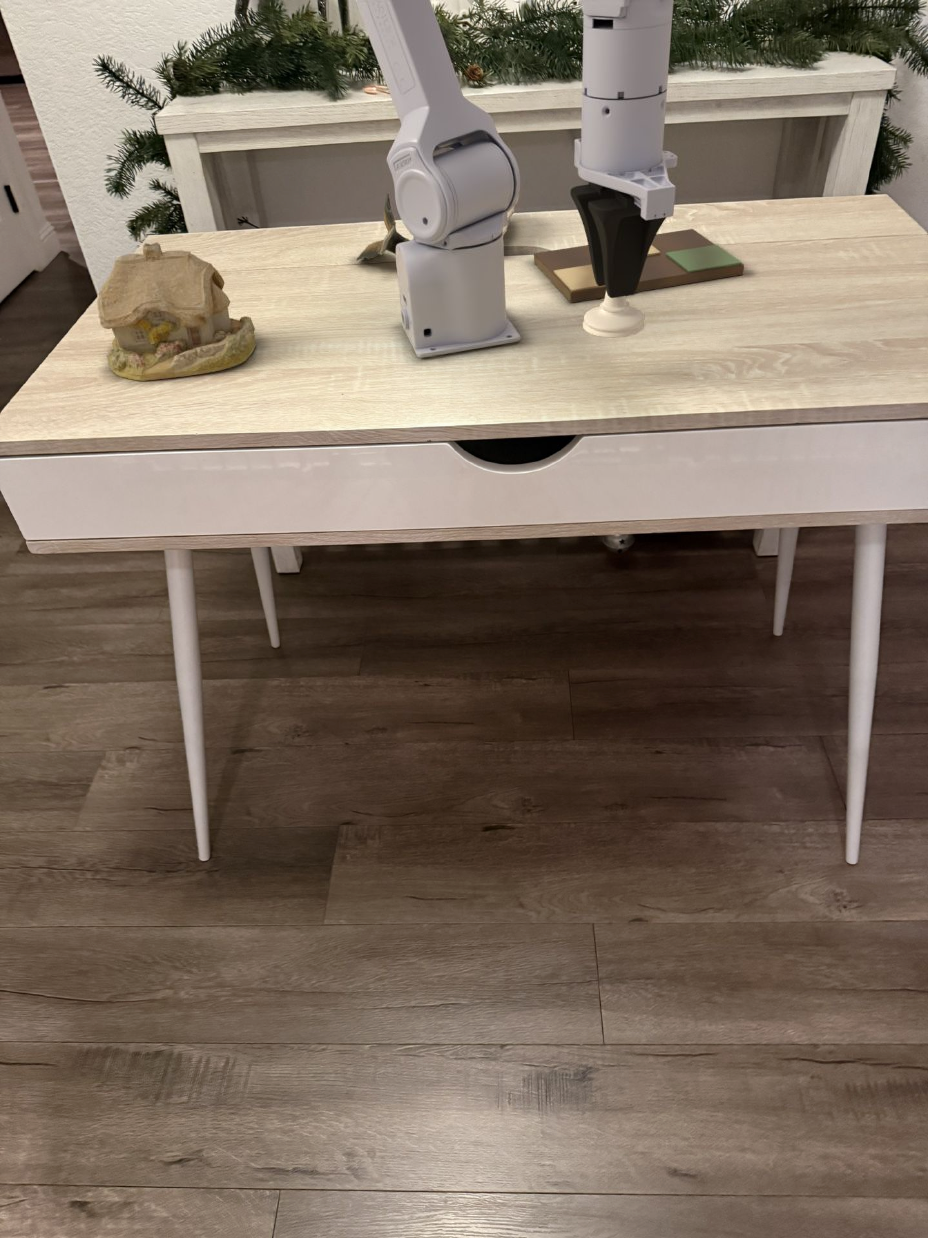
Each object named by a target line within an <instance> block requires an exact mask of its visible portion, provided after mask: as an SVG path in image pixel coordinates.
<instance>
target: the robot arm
mask: <svg viewBox="0 0 928 1238" xmlns="http://www.w3.org/2000/svg"><path fill="white" fill-rule="evenodd" d="M354 1H355V3H356V7H357V10H358V12H359V15H360V18H361V21H362V23H363V25H364V28H365V31H366V33H367V36H368V39H369V42H370V44H371V47H372V49H373V52H374V55H375V58H376V60H377V63H378V65H379V68H380V71H381V73H382V76H383V79H384V81H385V84H386V87H387V90H388V92H389V96H390V97H391V100H392V104H393V106H394V108H395V111H396V114H397V117H398V119H399V121H400V124H401V125H400V128H399V130H398V132H397V134H396V136H395V138H394V141H393V143H392V144H391V145H392V146H391V147H390V149H389V151H388V154H387V157H386V163H387V165H388V168H389V171H390V173H391V176H392V181H393V186H394V187H393V188H394V198H395V199H394V200H395V205H396V209H397V212H398V215H399V217H400V220H401V222H402V224H403V226H404V227H405V229H406V230H407V231H408V232H409V233H410V235H411V236H412V237H413V238H412V239H409V240H410V241H407V242H402V243H399V244H397V245H396V255H395V265H396V275H397V284H398V291H399V292H398V293H399V300H400V315H401V325H402V326H401V327H402V328H403V330H404V333H405V335H406V336H407V338H408V340H409V343H410V345H411V347H412V349H413V351H414V352H415V354H416V357H417V358H430V357H434V356H441V355H446V354H452V353H459V352H464V351H465V352H466V351H470V350H475V349H481V348H489V347H494V346H495V347H496V346H500V345H506V344H511V343H517V342H518V343H519V341H521V335H520V333H519V332H518V330H517V329H516V327H514V325H513V324H512V322H511V321H510V320H509V318H508V317H507V303H506V302H507V301H506V300H507V299H506V277H505V250H504V236H503V228H504V227H505V226H507V225H508V218H507V212H509V211H510V210H511V209H512V208H513V206H514V205H515V203H516V201H517V199H518V196H519V197H520V193H521V192H520V190H521V174H520V169H519V164H518V162H517V160H516V157H515V156H514V154H513V152H512V151H511V149H510V148H509V147H508V146H507V145H506V143H505V142H504V140H503V139H502V137H501V136H500V134H499V131H498V130H497V127H496V124H495V121H494V119H493V116H491V114H490V113H488V112H486V111H485V110H483V108H480V107H479V106H478V105H476V104H474V103H473V102H472V101H470V100H469V99H468V98H466V97H465V96H464V93H463V91H462V89H461V85H460V83H459V79H458V77H457V74H456V70H455V68H454V66H453V62H452V59H451V56H450V54H449V51H448V48H447V44H446V42H445V39H444V36H443V33H442V30H441V27H440V25H439V21H438V19H437V16H436V13H435V11H434V7H433V4H432V2H431V0H354ZM578 5H579V6H581V7H582V15H583V17H582V20H583V21H582V24H583V28H582V29H583V30H582V32H583V33H582V78H581V79H582V88H581V122H580V123H581V125H580V126H581V127H580V128H581V129H580V138H576V139H574V157H573V159H574V160H573V161H574V163H573V165H574V168H576V169H577V175H578V177H579V178H580V179H582V180H583V181H585V182H588V184H582V185H576V186H573V187H572V188H570V193H569V194H570V197H571V199H572V201H573V204H574V205H575V207H576V209H577V212H578V214H579V216H580V219H581V222H582V223H581V224H582V226H583V228H584V233H585V236H586V242H587V245H588V246H589V252H590V257H591V263H592V269H593V273H594V278H595V281H596V284H597V285H598V286H604V285H605V287H606V291H607V295H608V296H609V297H610V298H616V297H623V296H625V297H628V296H634V295H636V293H637V292H636V290H637V287H638V284H639V281H640V278H641V274H642V271H643V268H644V264H645V261H646V258H647V255H648V252H649V249H650V247H651V245H652V242H653V240H654V238H655V236H656V234H658V233H659V230H660V229H661V227H662V225H663V224H664V222H665V220H666V219H667V218H671V217H672V218H673V216H674V215H675V213H674V212H675V199H676V188H677V187H676V185H674V184H673V183H672V182H671V180H670V179H669V178H670V177H669V173H668V169H671V168H672V169H673V168H676V167H677V166H678V156H677V155H676V154H674V153H673V152H672V151H669V150H664V139H665V138H664V136H665V123H666V108H667V94H668V80H669V66H670V52H671V39H672V26H673V25H672V24H673V15H674V14H673V12H674V11H673V10H674V0H578ZM443 149H450V150H446V151H444V152H441V153H439V154H436V155H434V153H435V152H438V151H441V150H443ZM517 202H518V201H517Z"/></svg>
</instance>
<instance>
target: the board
mask: <svg viewBox="0 0 928 1238" xmlns="http://www.w3.org/2000/svg"><path fill="white" fill-rule="evenodd" d="M533 263H534V264H535V266H537V268H538V269H539V270H540V271H541V272H542V273H543V274H544V276H546V277H547V279H548V280H549V281H550V282H551V283H552V284H553V285H554V286H555V287H556V289H557V290H558V291H559V292H560V293H561V294H562V295H563V296H564V297H565V298H566V299H567V300H568V302H569V303H578V302H579V303H580V302H585V301H591V300H597V299H602V298H605V294H606V287H605V285H604V286H598V285H597V284H596V281H595V278H594V273H593V269H592V263H591V257H590V252H589V246H588V244H586V245H585V244H584V245H579V246H573V247H565V248H560V249H553V250H547V251H540V252H535V253H533ZM744 270H745V264H744V263H743V262H742V261H741V260H739V259H738V258H736V257H735V256H734V255H732V254H731V253H730V252H728V251H727V250H725V249H724V248H722V247H721V246H719V245H718V244H715V243H714V242H712V241H711V240H709V239H708V238H707V237H705V236H704V235H702V234H701V233H699V232H698V231H697V230H695V229H693V228H688V229H682V230H675V231H670V232H662V233H657V234H656V236H655V238H654V240H653V242H652V245H651V247H650V249H649V252H648V255H647V258H646V261H645V264H644V268H643V271H642V274H641V278H640V281H639V284H638V287H637V290H636V293H638V292H646V291H651V290H657V289H663V288H669V287H675V286H683V285H688V284H693V283H700V282H706V281H713V280H718V279H724V278H730V277H731V278H732V277H736V276H742V275H744Z"/></svg>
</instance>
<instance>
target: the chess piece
mask: <svg viewBox="0 0 928 1238" xmlns="http://www.w3.org/2000/svg"><path fill="white" fill-rule="evenodd" d="M645 319H646V316H645V313H644V312H643V311H642V310H641V309H639V308H638V307H635V306H632V305H631V303H630V302H629V301H627V297H626V296H623V297H616V298H610V297H609V296H608V295H607V291H606V294H605V297H604V300H603V301H602V302H600V304H599V305H598V306H595V307H593V308H591V309H590V310H587V312H585V314H584V316H583V322H582V328H583V330H584V331H585V332H587V333H588V334H590V335H593V336H596V337H600V338H608V339H615V338H616V339H618V338H627V337H631V336H634V335H637V334H639V333H640V332H641V331H643V330H644V329H645V328H646V321H645Z"/></svg>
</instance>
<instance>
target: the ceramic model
mask: <svg viewBox="0 0 928 1238" xmlns="http://www.w3.org/2000/svg"><path fill="white" fill-rule="evenodd" d="M224 286H225V280H224V279H223V276H222V275H221V274H220V272H219V270H218V269H216V267H214V266H213V264H212V263H211V262H208V261H206V260H203V259H201V258H199V257H198V256H196V255H195V254H192V253H191V251H190V250H189V251H187V250H182V249H180V250H167V251H166V250H165V251H163V250H162V248H161V244H160V243H159V242H157V241H156V242H154V243H151V244H150V243H146V242H145V243H144V244H143V246H142V253H128V254H124V255H120V256H119V257H118V258H116V259H115V260H114V264H113V267H112V270H111V272H110V274H109V276H108V277H107V280H106V281H105V282H104V283H103V285H102V286H101V288H100V290H99V292H98V298H97V302H96V303H97V309H98V313H99V314H98V318H99V321H100V325H101V327H102V328H103V329H107V330H110V329H111V330H112V333H113V335H114V338H113V339H112V341H111V345H112V347H113V348H112V349H109V351H108V354H106V357H107V358H106V359H107V364H108V366H109V369H110V370H111V371H112V372H113V373H114V374H116V376H118V377H121V378H125V379H128V380H134V381H140V382H145V381H156V380H161V379H172V378H174V379H175V378H180V377H189V376H197V375H203V374H208V373H213V372H218V371H223V370H225V369H227V370H228V369H231V368H232V367H236V366H239V365H240V364H242V363H244V362H246V361H247V360H248V358H250V356H251V355H252V353H253V351H255V348H256V339H255V330H256V328H255V325H254V323H253V320H252V318H251V317H250V316H247V315H246V316H245V315H244V316H242V317H240V318H239V319H235V318H233V317H230V313H229V307H230V304H231V300H230V298H229V296H228V295H227V293H225V291H224V290H223V289H224V288H225V287H224Z"/></svg>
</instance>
